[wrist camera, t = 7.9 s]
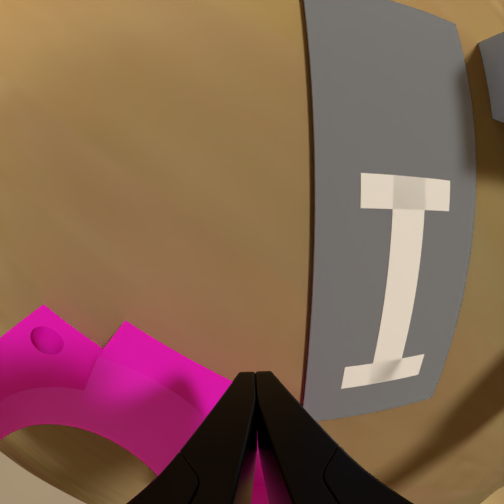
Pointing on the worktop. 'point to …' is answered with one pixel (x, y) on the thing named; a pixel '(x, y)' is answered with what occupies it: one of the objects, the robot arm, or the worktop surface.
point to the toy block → (108, 389)
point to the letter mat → (386, 203)
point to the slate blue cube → (494, 73)
